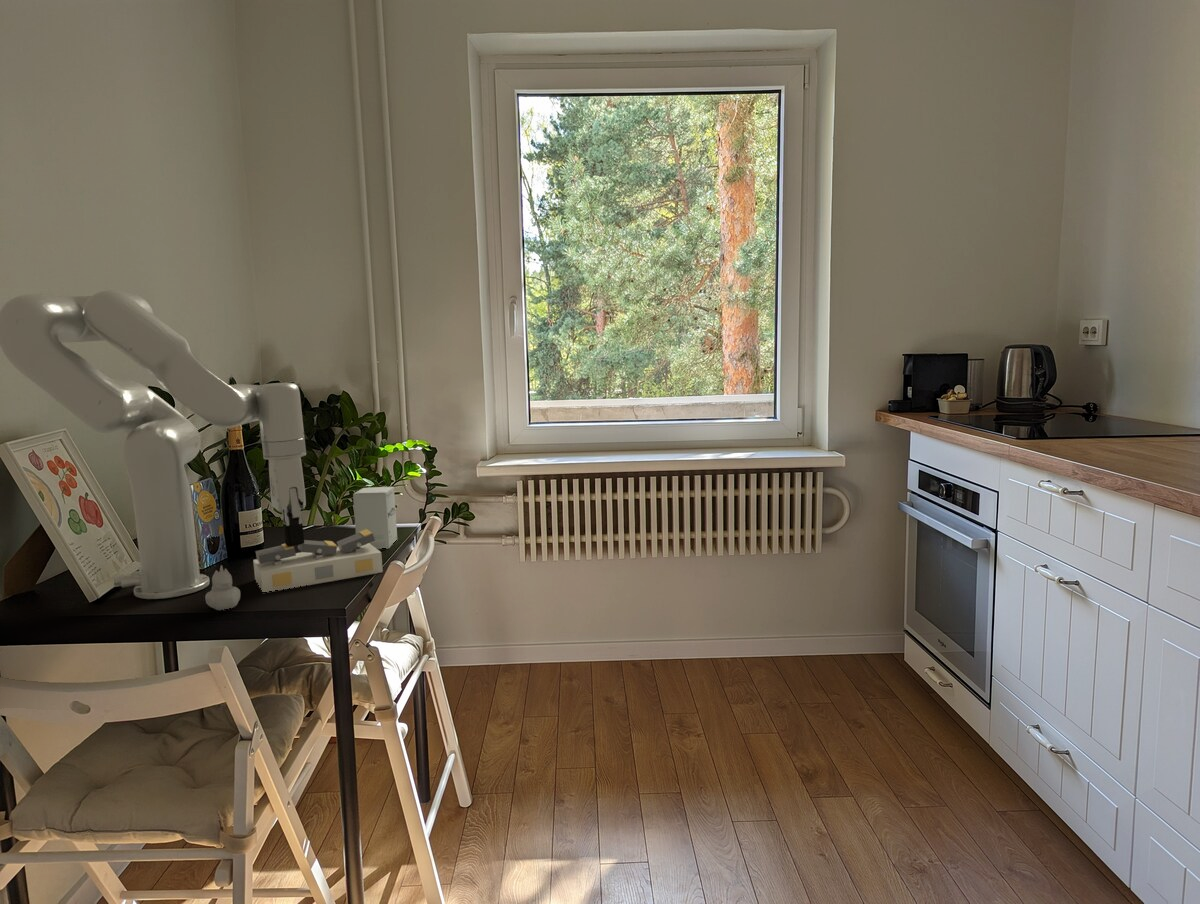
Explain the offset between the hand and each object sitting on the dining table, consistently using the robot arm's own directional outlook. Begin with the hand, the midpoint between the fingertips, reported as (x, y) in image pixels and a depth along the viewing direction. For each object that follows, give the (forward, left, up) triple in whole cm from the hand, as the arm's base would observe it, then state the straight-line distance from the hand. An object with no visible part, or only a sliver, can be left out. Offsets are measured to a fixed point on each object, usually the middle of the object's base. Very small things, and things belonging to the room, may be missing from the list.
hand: (294, 544), depth 154 cm
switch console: (+4, 0, -7) cm, 8 cm away
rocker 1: (-3, 0, -2) cm, 4 cm away
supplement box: (+20, +17, -7) cm, 27 cm away
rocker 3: (+12, 0, -2) cm, 12 cm away
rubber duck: (-14, -10, -7) cm, 19 cm away
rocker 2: (+4, 0, -2) cm, 4 cm away
